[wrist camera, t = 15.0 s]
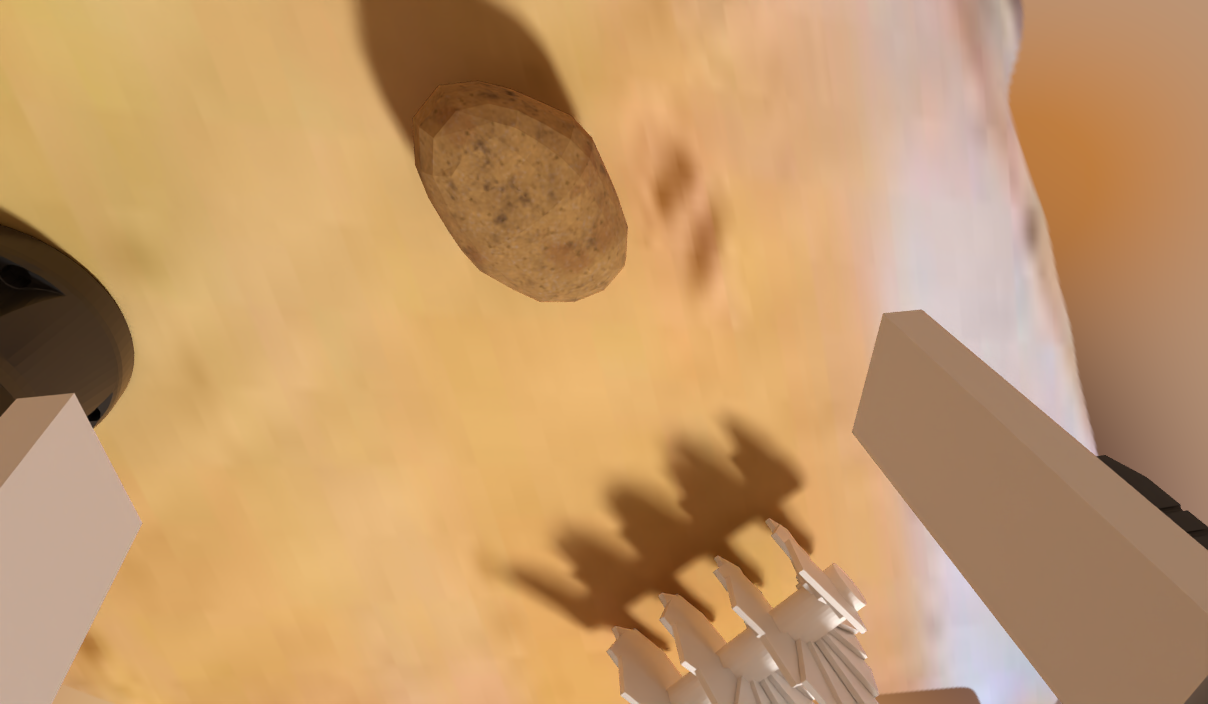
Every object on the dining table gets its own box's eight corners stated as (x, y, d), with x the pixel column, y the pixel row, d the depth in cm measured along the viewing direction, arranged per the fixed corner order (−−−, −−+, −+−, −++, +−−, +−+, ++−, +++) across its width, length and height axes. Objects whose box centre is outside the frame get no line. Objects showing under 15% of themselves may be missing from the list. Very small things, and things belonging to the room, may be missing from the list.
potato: (498, 13, 36) (507, 35, 30) (645, 202, 44) (678, 254, 37) (369, 131, 38) (351, 177, 32) (530, 293, 46) (543, 357, 39)
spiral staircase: (809, 508, 70) (632, 647, 75) (754, 487, 55) (539, 661, 60) (943, 677, 60) (728, 823, 65) (919, 706, 45) (645, 891, 51)
